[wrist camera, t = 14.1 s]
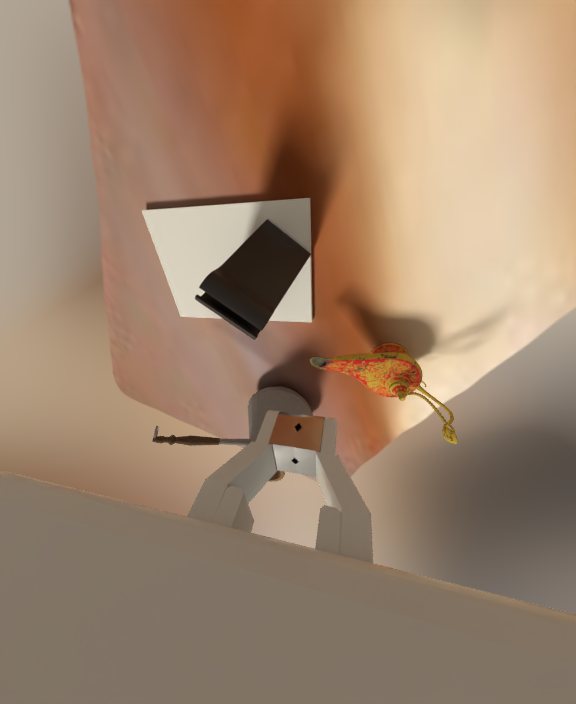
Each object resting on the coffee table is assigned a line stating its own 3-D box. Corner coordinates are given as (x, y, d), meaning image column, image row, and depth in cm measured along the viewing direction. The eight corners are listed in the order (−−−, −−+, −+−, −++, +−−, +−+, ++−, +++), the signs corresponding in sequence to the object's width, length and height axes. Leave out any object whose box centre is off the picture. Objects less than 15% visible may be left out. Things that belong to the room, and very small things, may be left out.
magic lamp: (326, 310, 32) (315, 361, 23) (454, 359, 32) (492, 429, 23) (308, 348, 36) (293, 404, 27) (422, 392, 36) (442, 462, 27)
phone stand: (268, 218, 26) (218, 242, 17) (312, 253, 27) (288, 295, 18) (233, 282, 31) (180, 328, 22) (271, 309, 32) (236, 364, 23)
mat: (310, 197, 25) (309, 198, 24) (312, 319, 33) (311, 322, 32) (146, 209, 29) (141, 210, 29) (183, 314, 37) (180, 316, 37)
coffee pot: (326, 395, 41) (313, 485, 29) (300, 430, 48) (282, 514, 36) (208, 343, 40) (146, 414, 28) (200, 386, 47) (148, 458, 35)
